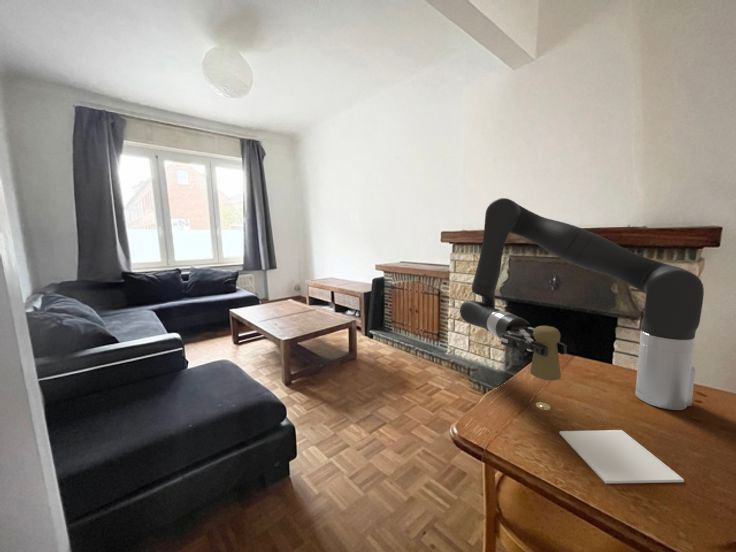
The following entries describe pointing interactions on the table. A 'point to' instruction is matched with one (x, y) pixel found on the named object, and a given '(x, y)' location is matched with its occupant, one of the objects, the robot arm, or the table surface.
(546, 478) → the table surface
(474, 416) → the table surface
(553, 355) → the cork
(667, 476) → the white mat
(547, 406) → the brass coin
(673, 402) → the robot arm
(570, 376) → the table surface
